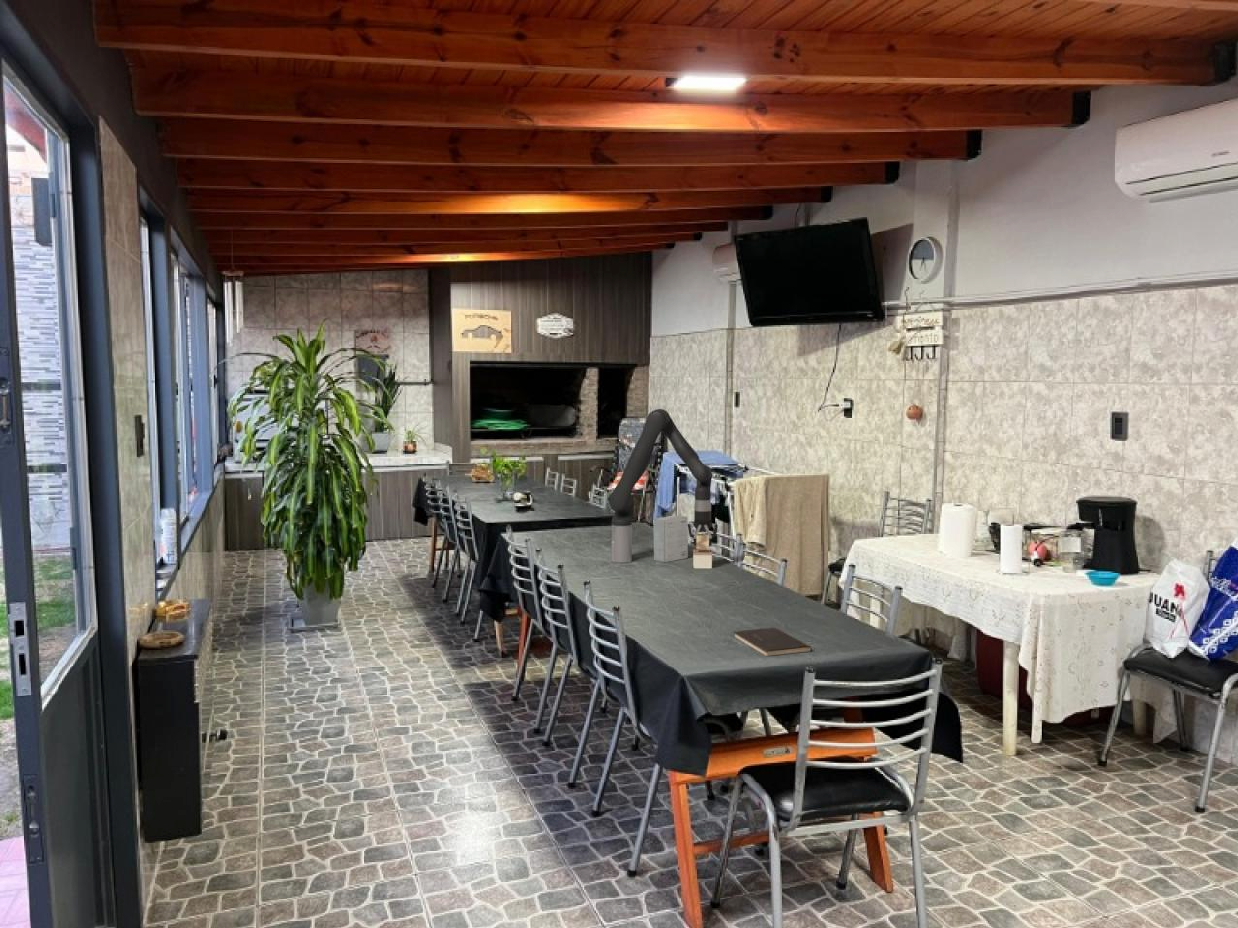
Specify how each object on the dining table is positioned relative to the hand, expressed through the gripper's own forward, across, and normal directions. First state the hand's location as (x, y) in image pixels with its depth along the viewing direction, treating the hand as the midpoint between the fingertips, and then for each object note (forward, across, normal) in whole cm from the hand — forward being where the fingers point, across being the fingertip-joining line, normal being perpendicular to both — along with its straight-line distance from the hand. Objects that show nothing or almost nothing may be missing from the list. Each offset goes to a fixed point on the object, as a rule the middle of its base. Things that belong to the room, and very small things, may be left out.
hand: (702, 546), depth 420 cm
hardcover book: (+10, +16, -121) cm, 123 cm away
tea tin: (+9, 0, 0) cm, 9 cm away
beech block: (+1, 0, 0) cm, 1 cm away
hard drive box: (+9, -14, +16) cm, 23 cm away
